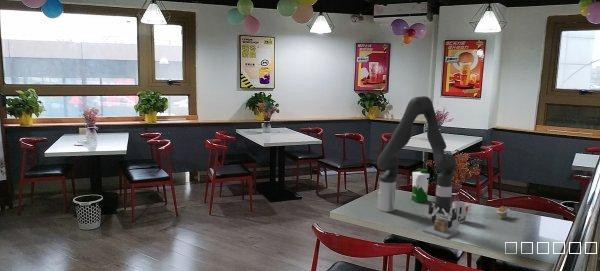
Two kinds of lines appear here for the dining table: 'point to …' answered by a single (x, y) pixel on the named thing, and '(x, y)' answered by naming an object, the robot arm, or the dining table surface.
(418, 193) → the milk carton
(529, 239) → the dining table surface
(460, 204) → the cup
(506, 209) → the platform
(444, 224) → the walnut cube
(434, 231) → the grey mat
